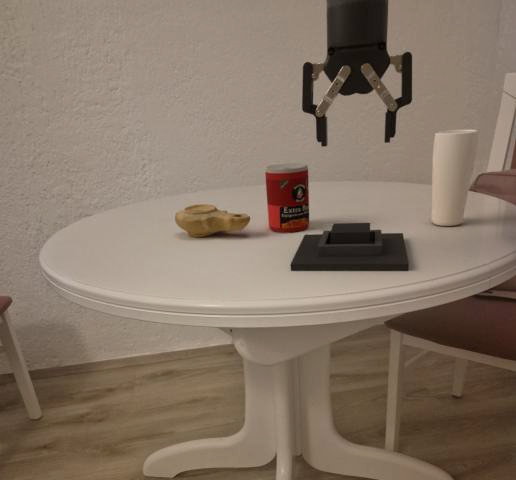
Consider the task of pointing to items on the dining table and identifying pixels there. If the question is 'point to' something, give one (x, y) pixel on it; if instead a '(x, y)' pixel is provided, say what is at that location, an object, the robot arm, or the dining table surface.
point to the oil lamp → (209, 220)
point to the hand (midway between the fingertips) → (355, 144)
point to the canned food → (287, 197)
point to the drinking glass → (452, 174)
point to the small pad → (350, 233)
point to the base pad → (352, 254)
